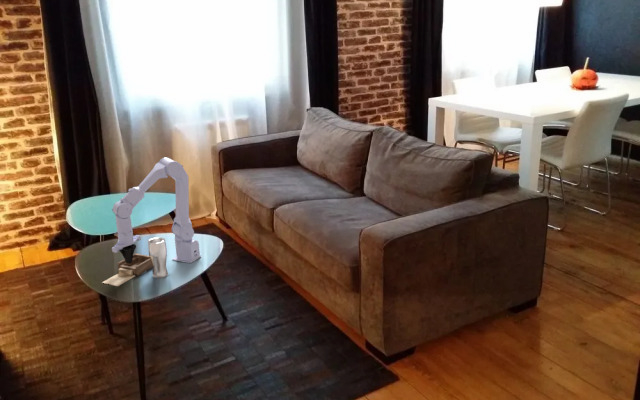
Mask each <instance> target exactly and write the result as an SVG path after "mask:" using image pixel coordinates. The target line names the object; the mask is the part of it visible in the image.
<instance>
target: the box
mask: <svg viewBox="0 0 640 400" xmlns="http://www.w3.org/2000/svg"><path fill="white" fill-rule="evenodd" d="M120 268H123V269H128V270H132V272H133V275H135V277H136V276H137V277H140V276H141V275H143V274H145V273H146V272H148V271H149V270H151V269H153V266H152V263H151V260H150V256H149V255H147V254H141V253H135V252H134V254H133V260H132V263H126V261H125V259H124V258H123V259H122V260H120V261H118V262H117V269H118V272H119V269H120Z"/></svg>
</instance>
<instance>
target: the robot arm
mask: <svg viewBox="0 0 640 400" xmlns="http://www.w3.org/2000/svg"><path fill="white" fill-rule="evenodd" d="M168 177H170V178H172V179H173V180H174V181H175V182H174V184H175V185H174V186H175V217H174V218H173V224H172V226H171V232H172V233H173V234H174V243H175V255H176V256H175V257H173V258H172V261H174V262H175V261H176V262H183V263H187V264H188V263H189V264H191V263H193V262H195V261H197V260H198V259H199V258H202V255H201V254H200V253H201V251H200V244H199V241H198V240H195V238H193V237H194V235H195V230H194V228H193V226H192V225H193V224H192V221H191V219H190V206H189V205H190V203H189V200H190V199H189V198H190V197H189V196H190V194H189V193H190V191H189V190H190V189H189V187H190V185H189V179H190V178H189V175H188V173H187V171H186V170H185V169H184V166H183V165H182V164H181V163H180V162H178V161H176V160H173V159H171V158H170V157H163V158H161V159H160V160H159V161H158V162H156V163H155V165H154V167H153V168H152V169H151V171H150V172H149V173H148V174H147V175H146V177H145V178H144V179H143V180H142V181H141V182H140V183H139V185H138V186H133V187H132V188H128V190H127V191H128V192H127V193H126V194H125V195H124V196H122V197H121V198H120V199H119V200H118V201H116V202H115V203H114V204H113V206H112V209H111V210H112V213H113V214H114V215H115V222H116V223H115V224H116V231H117V232H116V233H117V237H118V239H117V241H116V242H117V243H116V244H114V246H113V247H111V251H112V253H115V254H116V253H119V252H120V253H121V255H122V256H123V260H124V259H125V261H126V263H132V260H133V254H135V251H136V249H137V245H136V244H135V243H136V242H139V241H141V240H142V239H141V238H142V237H141V235H139V234H136V235H134V234H133V233H134V232H133V224H132V218H131V216H132V214H133V210H134V208H136V206H137V205H138V204H139V203H140V202H141V201H142V200H143V199H144V198H145V193H146V192H147V190H149V188H151V187H152V186H153V185H154V184H155V183H156V182H157V181H158V180H159V179H167V178H168Z"/></svg>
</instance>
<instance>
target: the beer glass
mask: <svg viewBox="0 0 640 400" xmlns="http://www.w3.org/2000/svg"><path fill="white" fill-rule="evenodd" d="M147 244H148V245H147V247H148V248H147V249H148V256H150V260H151V263H152V266H153V268H152V277H153V278H154V279H163V278H166V277H168V275H169V272H168V269H167V257H168V254H167V252H168V249H167V243H166V239H165V238H164V237H157V236H156V237H153V238H150V239H148V240H147Z"/></svg>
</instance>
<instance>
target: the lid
mask: <svg viewBox="0 0 640 400" xmlns="http://www.w3.org/2000/svg"><path fill="white" fill-rule="evenodd" d="M135 277H136V276H135V275H133V272H132V270H128V269H123V268H120V269H119V271H118V273H116V274H114V275H113V276H111V277H109V278H107V279H106V280H104V281H102V282H101V284H103V283H104V284H105V285H108V284H109V285H110V286H114V287H120V286H121V285H123V284H125V283H126V282H128V281H130V280H132V279H133V278H135ZM109 285H108V286H109Z"/></svg>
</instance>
